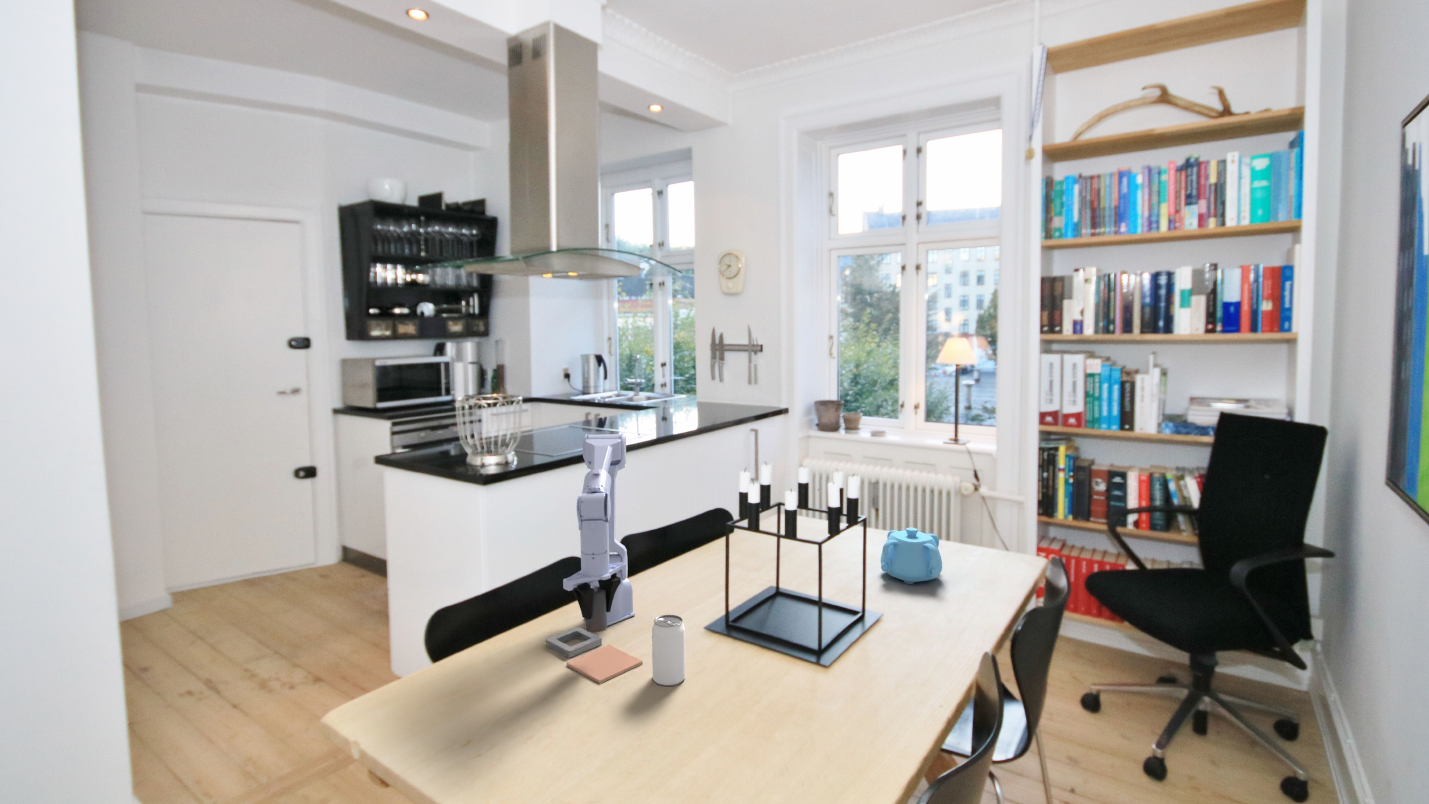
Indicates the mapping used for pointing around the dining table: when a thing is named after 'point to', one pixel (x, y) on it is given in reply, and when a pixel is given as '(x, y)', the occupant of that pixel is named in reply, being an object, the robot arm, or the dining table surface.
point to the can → (668, 650)
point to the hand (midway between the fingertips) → (596, 614)
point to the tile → (604, 663)
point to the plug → (597, 611)
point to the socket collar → (559, 646)
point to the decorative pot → (911, 556)
